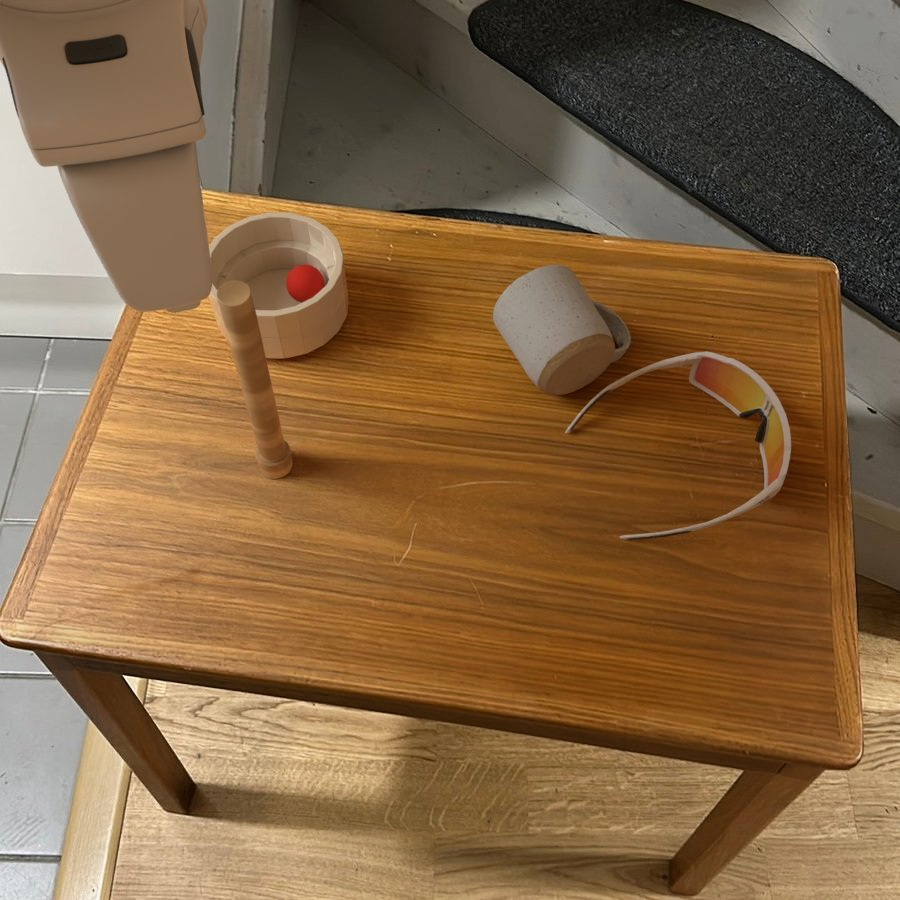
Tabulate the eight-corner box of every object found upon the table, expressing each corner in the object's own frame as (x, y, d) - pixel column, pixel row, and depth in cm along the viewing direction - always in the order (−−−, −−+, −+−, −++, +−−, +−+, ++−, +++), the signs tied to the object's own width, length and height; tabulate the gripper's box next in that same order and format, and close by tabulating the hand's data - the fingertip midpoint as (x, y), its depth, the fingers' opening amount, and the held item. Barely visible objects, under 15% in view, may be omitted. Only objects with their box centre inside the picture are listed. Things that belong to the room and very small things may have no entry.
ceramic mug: (535, 414, 74) (547, 354, 67) (487, 341, 77) (494, 278, 71) (647, 368, 76) (668, 307, 70) (595, 300, 80) (611, 236, 74)
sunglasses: (813, 500, 70) (829, 469, 65) (631, 574, 69) (634, 548, 64) (721, 359, 77) (729, 323, 72) (554, 425, 76) (552, 392, 71)
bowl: (229, 376, 75) (214, 329, 70) (207, 277, 81) (192, 227, 76) (362, 346, 77) (357, 298, 72) (332, 251, 83) (325, 200, 78)
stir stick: (252, 470, 71) (202, 299, 53) (270, 444, 72) (227, 269, 55) (281, 484, 70) (240, 316, 53) (299, 458, 71) (264, 285, 54)
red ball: (284, 278, 75) (318, 260, 76) (275, 273, 78) (308, 255, 79) (302, 312, 77) (335, 294, 77) (292, 306, 80) (324, 288, 80)
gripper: (0, -128, 42) (92, 123, 54) (24, 165, 32) (131, 396, 44) (139, -144, 44) (200, 104, 55) (206, 134, 33) (263, 367, 45)
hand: (170, 236), depth 49 cm, fingers open, 8 cm apart
